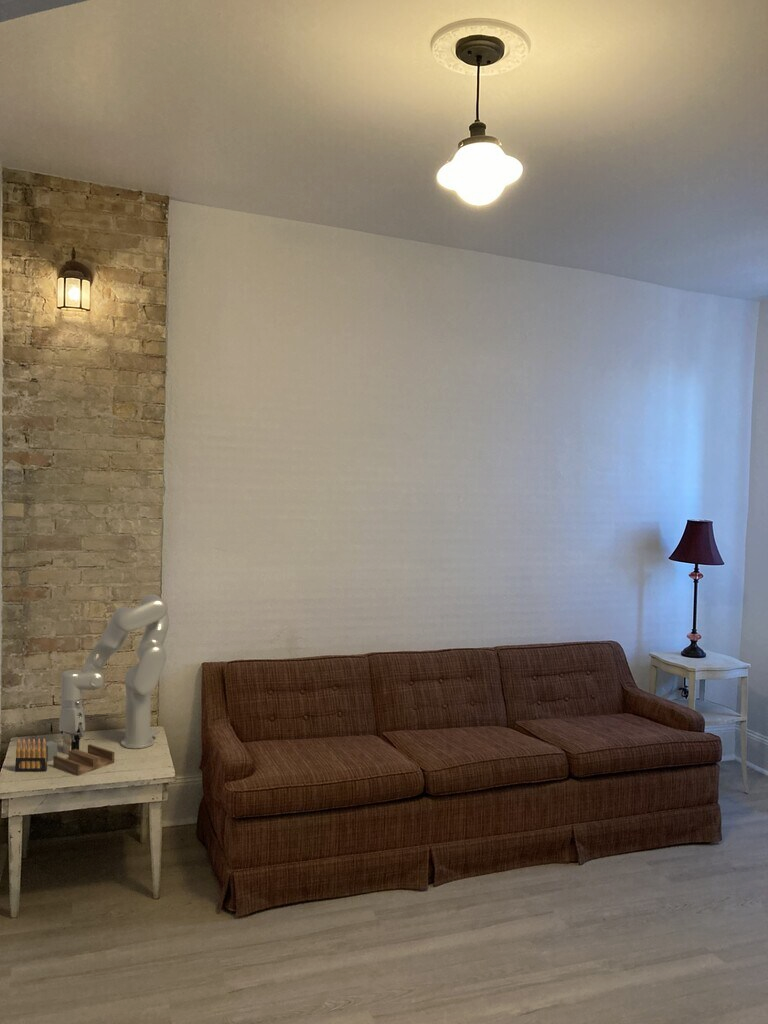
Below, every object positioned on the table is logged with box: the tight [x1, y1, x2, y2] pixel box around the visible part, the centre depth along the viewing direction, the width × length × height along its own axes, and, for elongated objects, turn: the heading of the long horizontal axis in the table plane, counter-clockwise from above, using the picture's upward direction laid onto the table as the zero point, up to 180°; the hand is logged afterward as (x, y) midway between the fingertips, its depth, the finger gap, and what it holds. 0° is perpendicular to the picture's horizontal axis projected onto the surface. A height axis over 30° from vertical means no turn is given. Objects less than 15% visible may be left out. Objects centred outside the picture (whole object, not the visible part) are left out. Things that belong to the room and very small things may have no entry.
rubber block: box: [41, 740, 58, 763], centre depth 308 cm, size 4×4×6 cm
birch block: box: [62, 732, 77, 756], centre depth 315 cm, size 4×4×8 cm
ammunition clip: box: [14, 737, 48, 773], centre depth 296 cm, size 11×2×12 cm, turn 96°
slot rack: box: [52, 744, 115, 777], centre depth 303 cm, size 16×14×4 cm
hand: (71, 749), depth 315 cm, fingers closed on birch block, 4 cm apart
